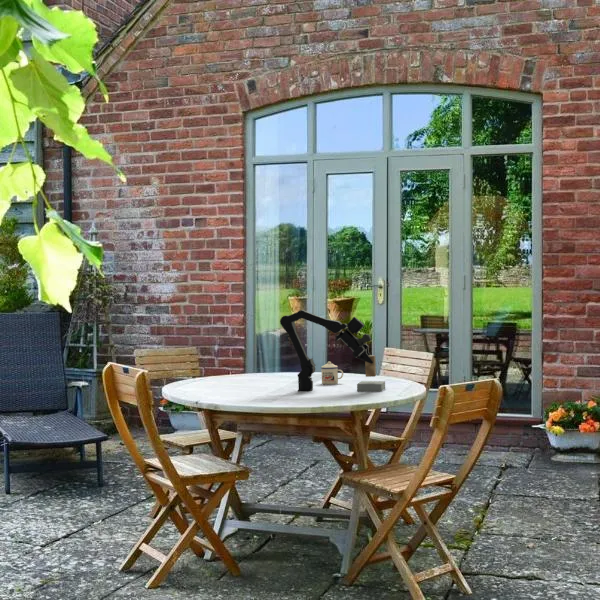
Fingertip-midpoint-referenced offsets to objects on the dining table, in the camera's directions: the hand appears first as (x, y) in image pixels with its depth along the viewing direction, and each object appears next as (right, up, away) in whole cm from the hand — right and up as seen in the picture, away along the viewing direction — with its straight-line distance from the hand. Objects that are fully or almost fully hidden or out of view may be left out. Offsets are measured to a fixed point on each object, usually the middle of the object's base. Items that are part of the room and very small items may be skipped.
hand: (373, 362), depth 414 cm
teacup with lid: (-19, -14, +35) cm, 42 cm away
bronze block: (-1, -7, 0) cm, 7 cm away
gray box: (-1, -14, +2) cm, 14 cm away
